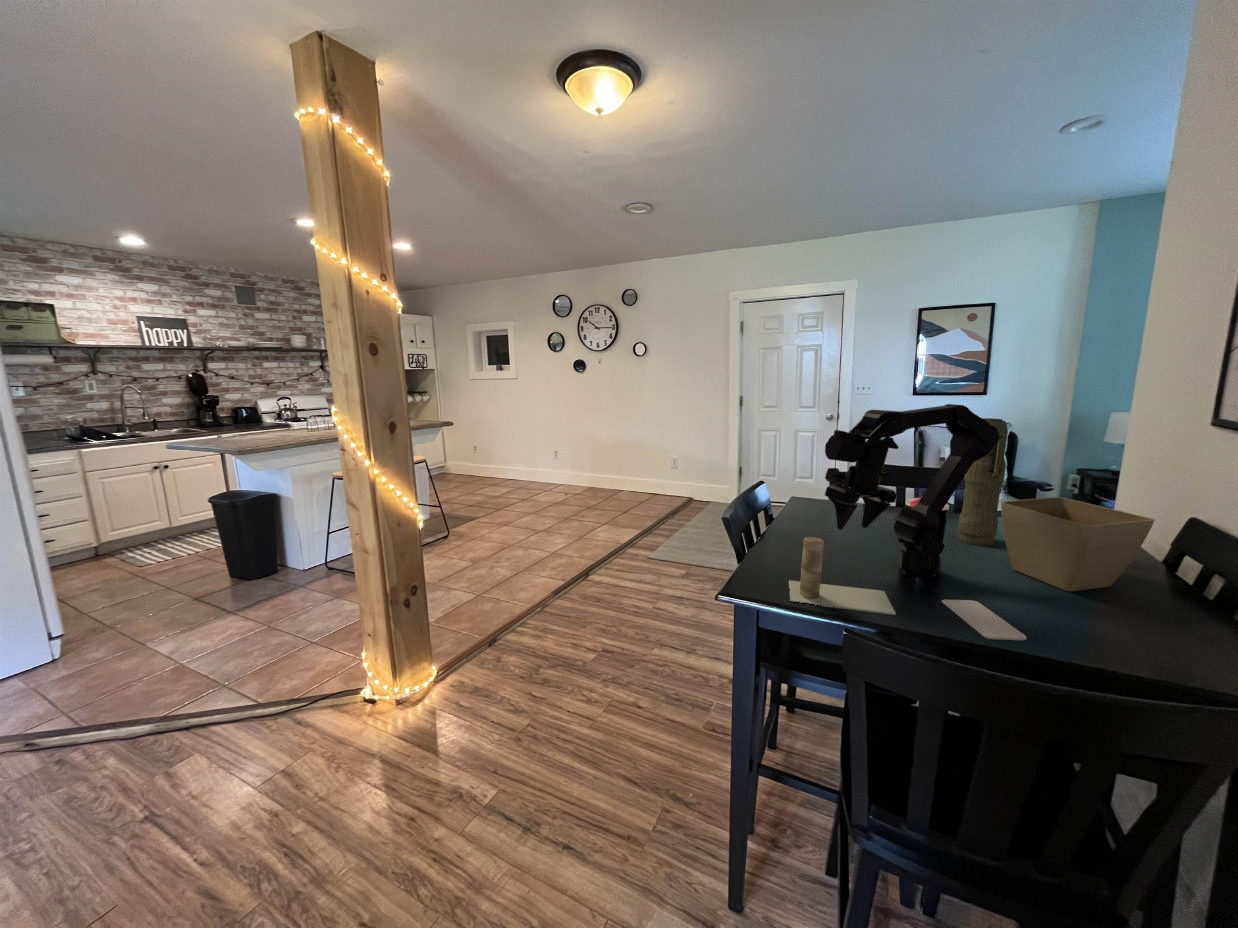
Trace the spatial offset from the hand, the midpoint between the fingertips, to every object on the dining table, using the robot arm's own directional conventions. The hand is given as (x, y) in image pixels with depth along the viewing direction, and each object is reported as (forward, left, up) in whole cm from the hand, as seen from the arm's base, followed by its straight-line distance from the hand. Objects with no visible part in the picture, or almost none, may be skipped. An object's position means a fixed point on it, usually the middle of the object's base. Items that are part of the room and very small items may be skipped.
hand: (852, 528), depth 113 cm
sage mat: (+4, +13, -12) cm, 18 cm away
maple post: (+10, +14, -11) cm, 21 cm away
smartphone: (-22, +15, -12) cm, 29 cm away
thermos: (-38, -36, -12) cm, 54 cm away
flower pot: (-47, -12, -12) cm, 50 cm away
